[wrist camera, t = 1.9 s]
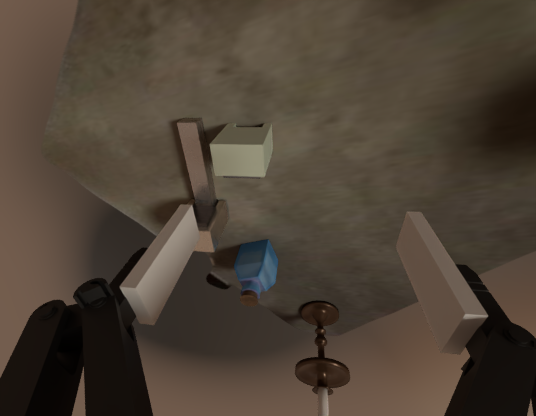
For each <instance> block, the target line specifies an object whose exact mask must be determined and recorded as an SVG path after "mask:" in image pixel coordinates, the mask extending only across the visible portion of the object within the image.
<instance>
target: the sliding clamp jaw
mask: <svg viewBox="0 0 536 416" xmlns="http://www.w3.org/2000/svg"><path fill="white" fill-rule="evenodd" d="M210 149H211V155H212V161H213V167H214V172H215V176H223V177H224V178H256V179H260V178H261V177H265V174H266V171H267V168H268V165H269V161H270V158H271V155H272V152H273V143H272V123H264V124H263V126H262V127H236V123H228V124H227V125H226V126H225V127H224V129H223V130H222V131H221V132H220V133H219V134H218V135H217V136H216V138H215V139H214V140H213V141H212V142H211V143H210Z"/></svg>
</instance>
